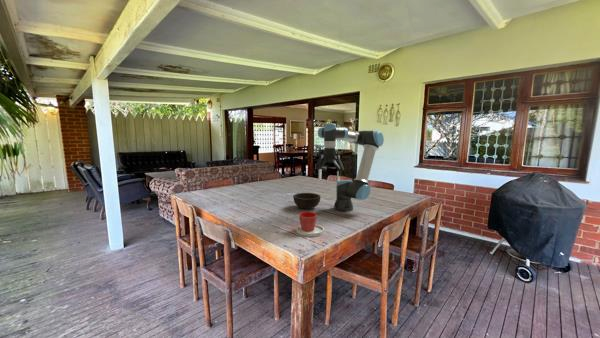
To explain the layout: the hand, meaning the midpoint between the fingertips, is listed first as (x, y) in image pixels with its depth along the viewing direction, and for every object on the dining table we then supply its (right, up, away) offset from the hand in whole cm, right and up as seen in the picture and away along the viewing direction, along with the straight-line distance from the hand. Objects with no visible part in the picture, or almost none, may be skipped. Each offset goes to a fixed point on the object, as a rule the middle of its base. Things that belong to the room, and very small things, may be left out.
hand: (329, 180), depth 171 cm
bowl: (-14, -24, +37) cm, 46 cm away
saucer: (-13, -31, -13) cm, 36 cm away
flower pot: (-14, -30, -12) cm, 35 cm away
